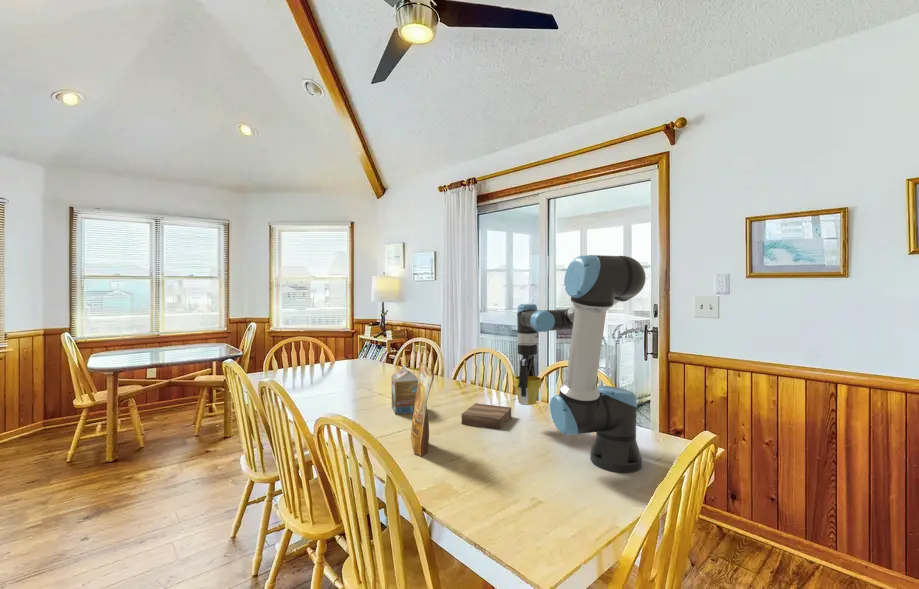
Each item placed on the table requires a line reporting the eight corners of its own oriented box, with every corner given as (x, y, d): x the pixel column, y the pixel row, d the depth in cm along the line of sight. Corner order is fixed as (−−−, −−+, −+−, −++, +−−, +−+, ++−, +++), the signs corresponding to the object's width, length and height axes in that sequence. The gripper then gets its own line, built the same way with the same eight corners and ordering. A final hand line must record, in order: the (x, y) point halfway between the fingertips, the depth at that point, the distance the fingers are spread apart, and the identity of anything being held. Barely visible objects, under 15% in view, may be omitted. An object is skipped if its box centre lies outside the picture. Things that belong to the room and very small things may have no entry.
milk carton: (391, 407, 190) (391, 365, 189) (414, 405, 193) (414, 364, 192) (395, 414, 180) (395, 370, 179) (419, 412, 183) (419, 368, 182)
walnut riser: (500, 429, 162) (500, 418, 161) (461, 423, 168) (461, 413, 167) (511, 416, 176) (511, 407, 176) (475, 412, 182) (475, 403, 182)
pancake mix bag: (427, 436, 154) (427, 360, 153) (434, 457, 135) (434, 371, 135) (409, 437, 153) (409, 360, 152) (413, 459, 134) (413, 371, 133)
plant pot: (539, 399, 168) (539, 375, 168) (542, 406, 157) (542, 380, 157) (513, 399, 169) (513, 374, 169) (514, 406, 158) (514, 380, 158)
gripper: (530, 348, 151) (530, 409, 151) (542, 341, 172) (542, 395, 172) (510, 347, 154) (510, 407, 154) (524, 340, 175) (524, 393, 175)
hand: (527, 401), depth 163 cm, fingers closed on plant pot, 10 cm apart
